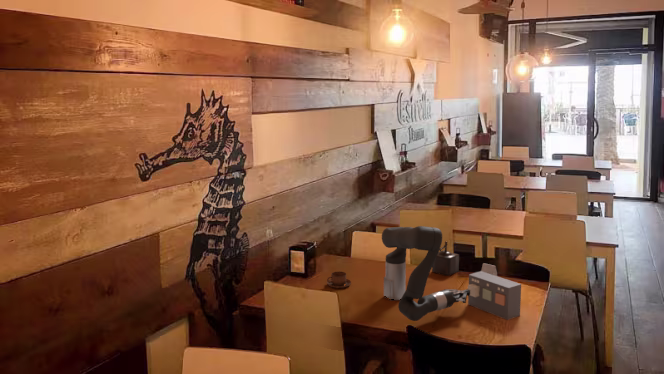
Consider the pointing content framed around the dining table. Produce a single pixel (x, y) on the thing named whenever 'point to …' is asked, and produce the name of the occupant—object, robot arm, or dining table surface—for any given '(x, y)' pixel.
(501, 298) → the button terracotta
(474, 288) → the button cream
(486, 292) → the button sage
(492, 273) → the pale pink rectangular block
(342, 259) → the dining table surface
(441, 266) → the dark brown coffee grinder
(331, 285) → the cup and saucer
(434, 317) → the dining table surface
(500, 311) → the console
